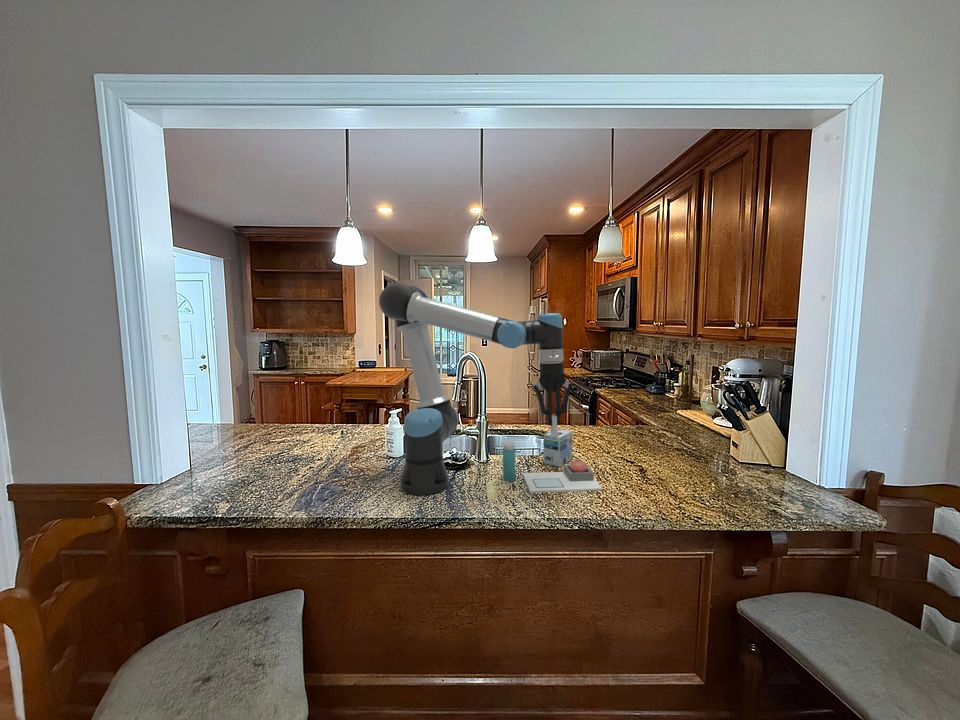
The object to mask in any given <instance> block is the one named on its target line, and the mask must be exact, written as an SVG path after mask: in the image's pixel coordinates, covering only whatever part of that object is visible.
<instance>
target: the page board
mask: <svg viewBox="0 0 960 720" xmlns="http://www.w3.org/2000/svg"><path fill="white" fill-rule="evenodd" d="M522 476H523V479H524V481H525V484H526V486H527V488H528V491H529V493H533V494H534V493H556V492H557V493H561V492H562V493H563V492H586V491H588V492H589V491H591V492H592V491H603V487H602V486H601V485H600V484H599V482H597V480H596V479H595V478H594V471H593V470H591V469H590V467H589V466H588V465H587V464H586V472H577V473H572V472H571V471H570V464H568V465H567V464H564V465H563V471H556V472H555V471H550V472H549V471H548V472H547V471H546V472H545V471H544V472H523V473H522Z"/></svg>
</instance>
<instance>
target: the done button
mask: <svg viewBox="0 0 960 720" xmlns="http://www.w3.org/2000/svg"><path fill="white" fill-rule="evenodd" d="M569 463H570V464H569V465H570V471H571V472H572V473H577V472H586V465H587V462H585V461H582V460H573V461H572V460H571V461H569Z"/></svg>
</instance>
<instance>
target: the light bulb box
mask: <svg viewBox="0 0 960 720" xmlns="http://www.w3.org/2000/svg"><path fill="white" fill-rule="evenodd" d="M557 435H558V436H554V437H553V436H552V435H551V431H549V432H547V433H544V434H543V464H546V465H550V466H555V467H559V468H561V467H562V466H564V465H566V464H567V463H568V462H571V461H572V460H573V430H568V429H562V428H561V429H560V428H557Z"/></svg>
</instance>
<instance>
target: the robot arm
mask: <svg viewBox="0 0 960 720" xmlns="http://www.w3.org/2000/svg"><path fill="white" fill-rule="evenodd" d="M378 299H379V300H378V302H379V303H378V304H379V308H380V310H381V312H382V314H383V315H385V317H387V318H389V319H391V320H395V325H396V329H397V330H399V332H402V333H403V337H404V343H405V346H406V351H407V354H408V358H409V363H410V367H411V370H412V375H413V379H414V383H415V387H416V390H417V395H418V400H419V402H418V403H417V405H416V409H414V410H411V411H410V412H408V413H407V414H406V415H405V417H404V423H403V435H404V455H405V456H404V457H405V461H404V467H403V470H402V472H401V473H402V474H401V477H400V480H399V481H400V482H399V483H400V490H401V489H402V490H403V491H402V490H401V491H402V492H404V493H405V492H406V494H408V495H412V496H414V495H415V496H429V495H434V494H438V493H441V492H443V491H444V490H446V489H447V488H448V487H449V486H450V476H449V474H448V471H447V468H446V465H445V461H444V458H443V457H444V456H443V452H444V451H443V450H444V449H443V445H444V444H443V443H444V442H445V441H446V440H447V439H448V438H450V437H451V436H452V435H453V434H454V432H456V430H457V428H458V425H459V414H458V412H457V409H455V407H453V406H452V402H451V399H450V397H449V396H447V395H446V394H444V390H443V385H442V381H441V377H440V373H439V369H438V365H437V360H436V356H435V352H434V348H433V344H432V340H431V336H430V331H429V325H430V326H434V327H438V328H442V329H444V330H448V331H451V332H454V333H455V332H456V333H459V334H463V335H466V336H471V337H474V338H477V339H481V340H485V341H488V342H492V343H495V344H497V345H502V346H503V347H504V348H507V349H516V348H518V347H520V346H524V345H538V349H539V353H538V355H539V356H538V357H539V362H540V363H539V379H538V381H537V382H536V383H535V384H532V386H531V387H532V389H533V390H534V392H535V394H536V397H537V402H538V404H539V409H540V411H541V413H542V414H543V415H545V416H547V418H546V419H547V421H546V422H547V425H548V426H549V427H550V432H551V435H552V436H553V437H554V436H558V435H557V429H558V426H560V425H561V415H563V414H566V412H567V408H568V402H569V399H570V395H571V394H570V393H571V390H572V389H573V387H574V384H573V383H572V382H569V381H567V378H566V377H565V364H564V362H563V361H564V360H565V359H564V326H563V317H562V314H561V313H558V312H552V313H551V312H548V313H540V314H538V315H537V319H536V320H525V321H524V320H522V321H521V320H520V321H518V320H517V321H515V320H512V319H511V320H510V319H507V318H503V317H499V316H495V315H494V314H493V315H492V314H488V313H486V312H480V311H478V310H474V309H470V308H467V307H463V306H459V305H455V304H450V303H448V302H443V301H440V300H436V299H432V298H430V297H429V295H428V294H427V293H426V292H425V290H422V289H421V288H419V287H418V286H414V285H407V284H403V283H398V282H397V283H392V284H389V285H386V286H385V288H383V290H382V291H381V293H380V295H379V298H378ZM563 387H564V389H563V395H562V399H560V398H561V397H560V395H561V389H562V388H563ZM542 388H543V389H544V391H545V398H546V400H545V401H546V406H545V403H544V400H543V396H542V391H541V389H542ZM552 392H553V393H552ZM552 394H553V397H552ZM552 398H553V399H552ZM552 400H554V403H553V402H552ZM560 403H561V404H560ZM553 404H554V414H553Z"/></svg>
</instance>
